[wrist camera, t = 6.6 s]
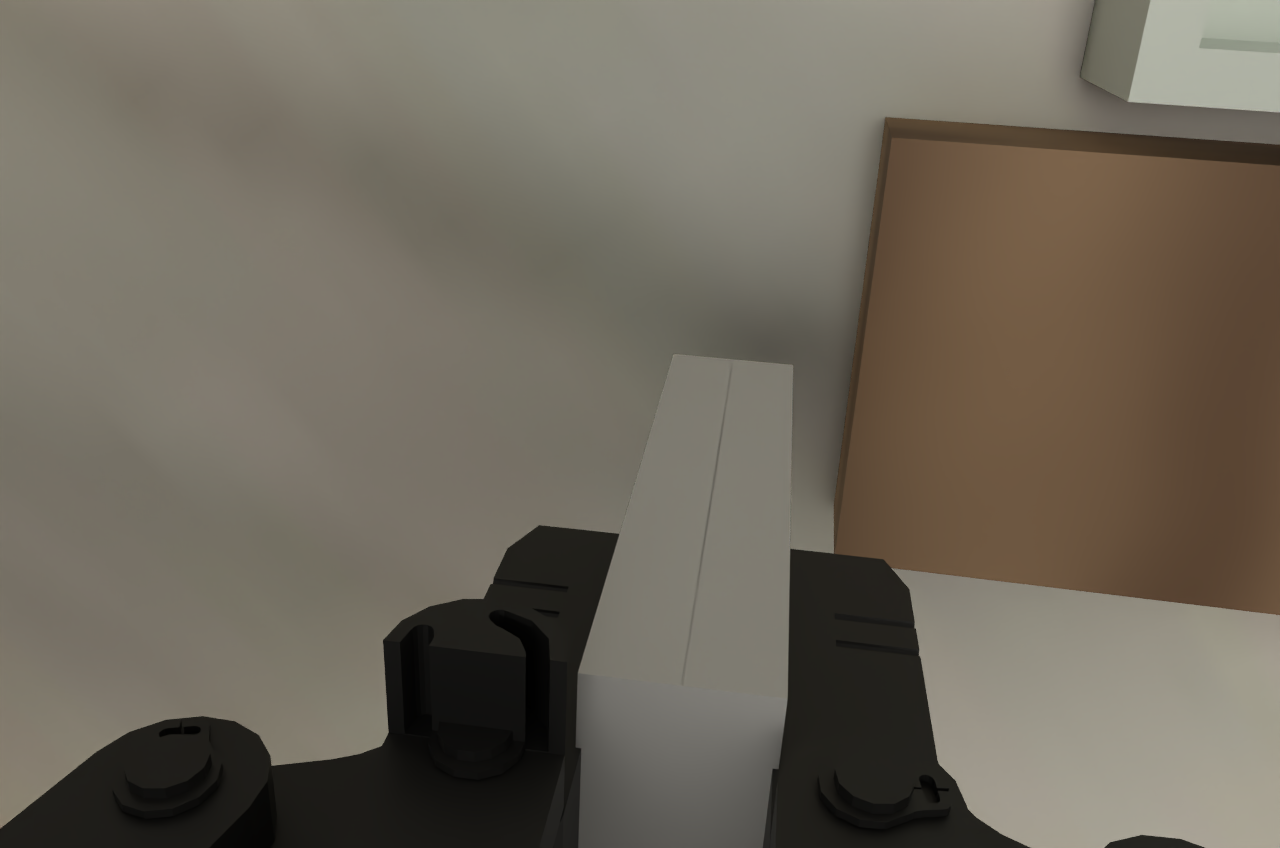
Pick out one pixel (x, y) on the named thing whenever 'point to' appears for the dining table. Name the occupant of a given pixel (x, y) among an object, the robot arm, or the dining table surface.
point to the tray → (1187, 52)
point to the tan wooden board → (1070, 364)
